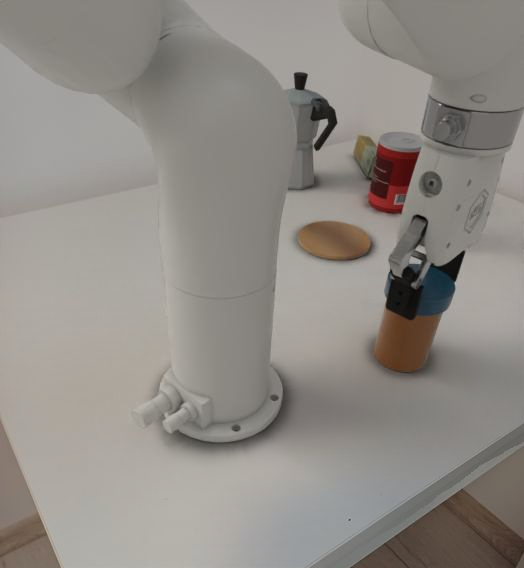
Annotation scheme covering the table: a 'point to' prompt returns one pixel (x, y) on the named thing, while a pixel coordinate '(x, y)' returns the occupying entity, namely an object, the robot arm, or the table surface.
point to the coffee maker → (307, 128)
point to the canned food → (393, 170)
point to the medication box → (365, 154)
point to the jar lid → (432, 291)
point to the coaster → (334, 240)
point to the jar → (405, 340)
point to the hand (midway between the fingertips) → (421, 294)
